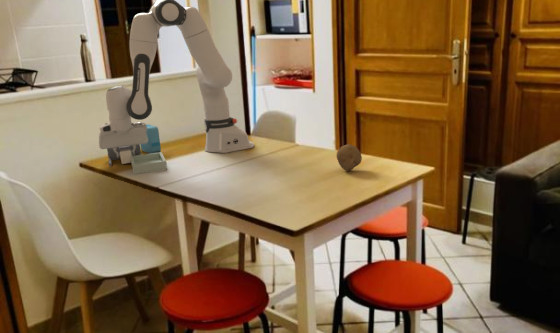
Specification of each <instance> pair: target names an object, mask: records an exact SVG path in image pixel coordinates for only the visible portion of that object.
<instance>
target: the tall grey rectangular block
mask: <svg viewBox="0 0 560 333" xmlns="http://www.w3.org/2000/svg"><path fill="white" fill-rule="evenodd" d="M119 150H120V156H121V159H120V161H121V162H120V163H121V165H124V164H125V165H126V164H131V157H130V156H132V155H131V149H130V146H123V147H119Z"/></svg>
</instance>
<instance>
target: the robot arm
mask: <svg viewBox="0 0 560 333" xmlns="http://www.w3.org/2000/svg"><path fill="white" fill-rule="evenodd" d="M174 26H176V27H177V28H178V29H179V30H180V32H181V34H182V37H183V39H184V42H185V44H186V46H187V49H188V51H189V54H190V56H191V58H193V60H194V61H195V63H196V64H197V68H196V70H195V77H196V79H197V82H198V85H199V90H200V95H201V97H202V102H203V103H202V104H203V112H204V130H205V132H206V134H205V147H204V151H205V152H208V153H219V154H226V153H231V152H236V151H241V150H242V151H243V150H248V149H252V148H254V147H255V145H254V142H252V141H251V140H249V136H248V134H247V132H246V131H245V130H243V129H242V128H240V127H239V126H237V125H236V124H237V123H238V120H237V118H233V117H231V116H230V114H231V113H230V105H229V99H228V97H227V94H226V91H225V88H226V87H228V86H229V85H230V84H231V83H232V80H233V73H232V71H231V69H230V68H229V67H228V65H227V64H226V62H225V60H224V58H223V57H222V55H221V54H220V51H219V50H218V49H217V46H216V44H215V43H214V39H213V38H212V35H211V33H210V30H209V28H208V26H207V24H206V22H205V19H204V18H203V16H202V15H201V13H200V12H199V10H198V8H196V7H193V6H185V7H184V6H182V5H181V4H180V3H179V2H177V1H176V0H156V1H155V2H154V3H153V4H152V5H151V6H150V7H149V10H147V12H140V13H137V14H135V15H134V16H133V19H132V22H131V26H130V27H131V28H130V33H129V54H130V55H129V56H130V59H131V64H132V72H133V76H132V77H133V78H132V87H131V89H130V88H128V87H126V86H125V85H116V86H113V87H110V88H109V89H107V91H106V93H105V95H106V96H105V99H106V100H105V101H106V109H107V111H108V114H109V116H108V119H109V120H108V121H107V122H105V123H103V124H101V125H100V126H99V131H100V132H99V133H98V145H99V148H100V150H107V149H108V148H113V151H114V152H115V153H116V154H117V158H118V157H121V156H120V153H118V152H117V151H116V150H117V149H116V147H123V146H130V145H133V150H132V151H131V155H135V153H134V151H135V149H136V145H138V144H145V143H147V142H148V138H147V134H146V131H147V126H146V125H147V124H146V123H145V122H143V120H145V119H147V118H149V117H150V115H151V113H152V111H153V106H152V100H151V98H150V96H149V87H150V86H149V85H150V72H151V69H152V66H153V63H154V61H155V58H156V53H157V48H158V35H159V31H160V29H161V28H163V27H164V28H165V27H174ZM132 119H134V120H137V121H139V120H142V122H132Z"/></svg>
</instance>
